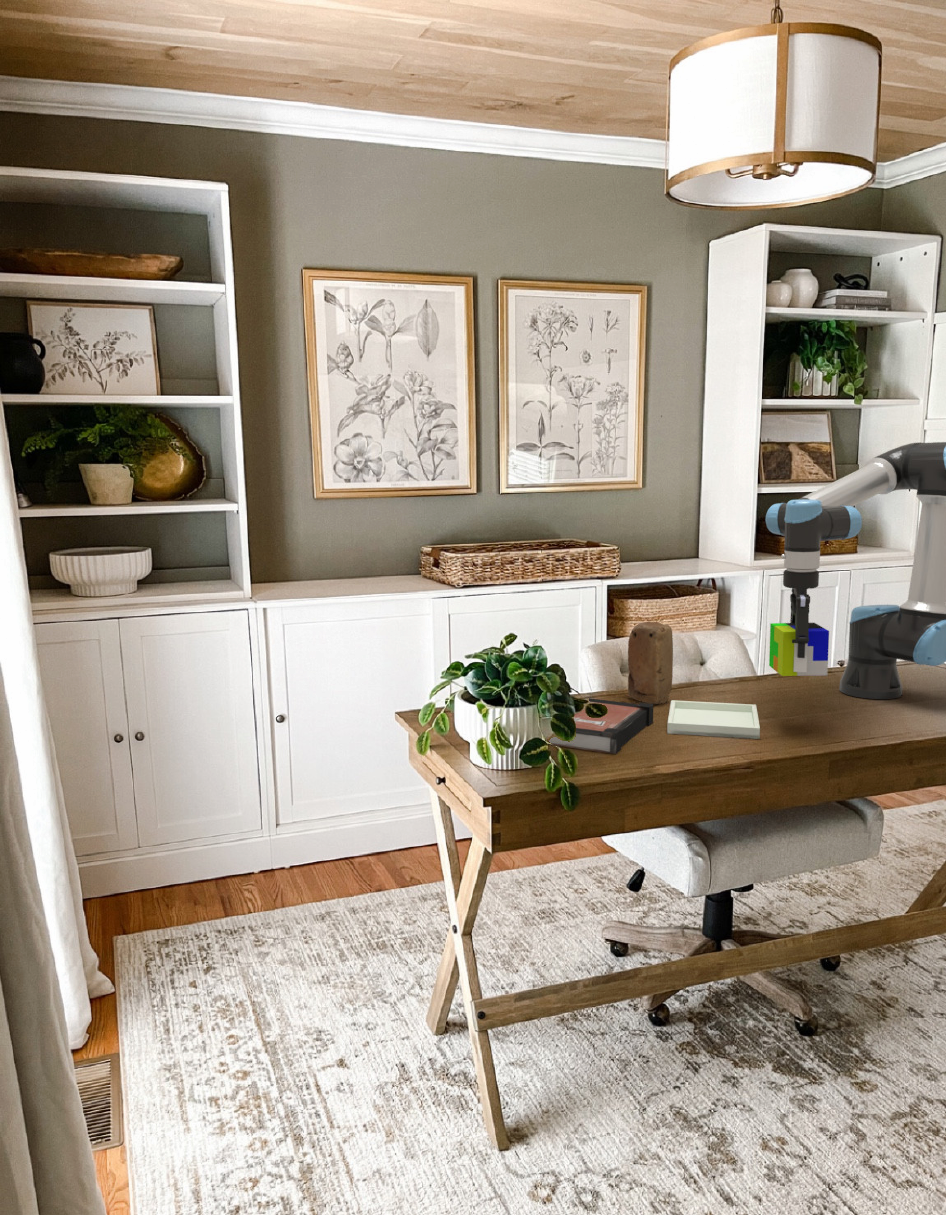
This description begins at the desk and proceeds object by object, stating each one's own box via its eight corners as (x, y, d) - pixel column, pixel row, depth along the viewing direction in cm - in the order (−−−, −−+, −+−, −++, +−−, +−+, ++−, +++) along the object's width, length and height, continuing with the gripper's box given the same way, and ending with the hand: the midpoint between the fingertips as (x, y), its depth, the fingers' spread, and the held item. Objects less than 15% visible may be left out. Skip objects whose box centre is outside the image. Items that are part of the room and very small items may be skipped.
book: (583, 715, 232) (583, 695, 231) (653, 724, 224) (653, 703, 223) (540, 745, 209) (540, 723, 208) (616, 756, 201) (616, 733, 200)
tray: (755, 714, 229) (755, 704, 228) (759, 739, 210) (759, 728, 209) (671, 710, 234) (671, 700, 233) (667, 733, 214) (667, 722, 214)
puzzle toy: (827, 675, 210) (829, 631, 208) (781, 676, 210) (783, 631, 209) (812, 664, 220) (814, 622, 218) (769, 665, 220) (770, 623, 219)
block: (674, 701, 241) (676, 624, 238) (656, 707, 236) (658, 628, 233) (640, 694, 249) (642, 619, 246) (622, 699, 244) (623, 623, 241)
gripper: (780, 562, 223) (777, 653, 227) (787, 576, 201) (784, 677, 205) (813, 562, 222) (810, 654, 225) (824, 577, 199) (820, 678, 203)
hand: (797, 665), depth 215 cm, fingers closed on puzzle toy, 11 cm apart
